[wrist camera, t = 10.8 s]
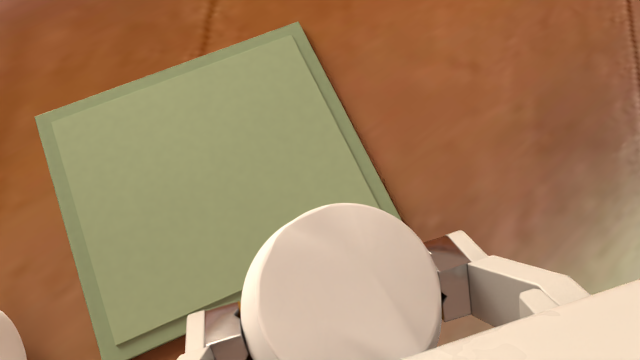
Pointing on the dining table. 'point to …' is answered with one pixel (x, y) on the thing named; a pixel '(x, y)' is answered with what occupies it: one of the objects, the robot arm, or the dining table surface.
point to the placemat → (197, 180)
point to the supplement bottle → (341, 289)
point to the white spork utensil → (10, 340)
